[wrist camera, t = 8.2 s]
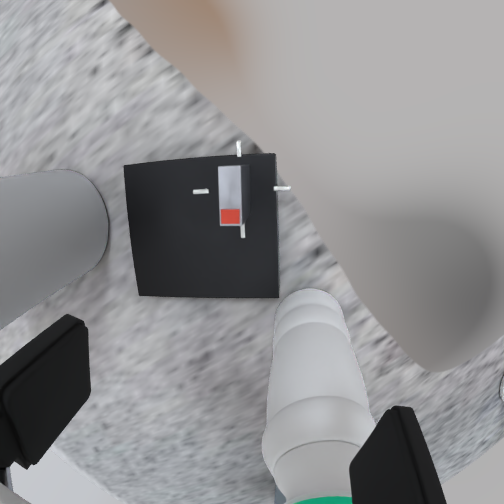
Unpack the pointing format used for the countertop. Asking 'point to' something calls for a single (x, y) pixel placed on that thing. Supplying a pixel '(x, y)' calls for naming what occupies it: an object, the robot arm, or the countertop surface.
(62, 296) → the countertop surface
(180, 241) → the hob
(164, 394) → the countertop surface
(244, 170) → the knob
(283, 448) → the water bottle
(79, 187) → the cylinder vase
